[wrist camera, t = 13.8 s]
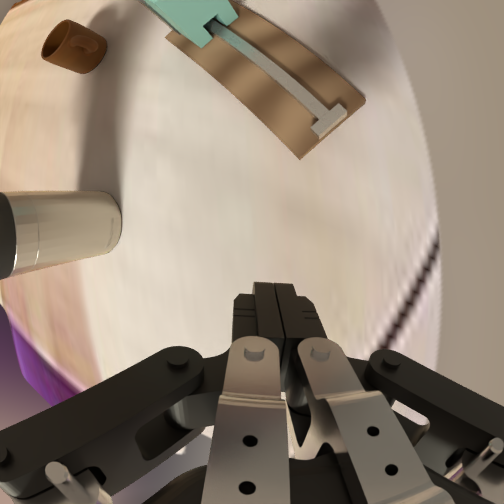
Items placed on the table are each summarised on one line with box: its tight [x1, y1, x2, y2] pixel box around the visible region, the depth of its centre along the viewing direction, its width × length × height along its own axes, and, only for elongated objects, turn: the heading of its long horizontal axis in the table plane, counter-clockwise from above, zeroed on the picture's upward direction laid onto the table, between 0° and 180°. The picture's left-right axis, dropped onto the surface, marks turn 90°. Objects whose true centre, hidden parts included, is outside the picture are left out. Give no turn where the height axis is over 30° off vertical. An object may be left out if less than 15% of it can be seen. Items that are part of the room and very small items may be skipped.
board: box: [165, 0, 366, 160], centre depth 29 cm, size 26×10×1 cm, turn 41°
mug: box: [41, 20, 107, 74], centre depth 31 cm, size 12×8×9 cm, turn 63°
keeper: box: [144, 0, 238, 48], centre depth 23 cm, size 5×6×11 cm
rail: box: [138, 0, 347, 140], centre depth 24 cm, size 26×7×9 cm, turn 41°
